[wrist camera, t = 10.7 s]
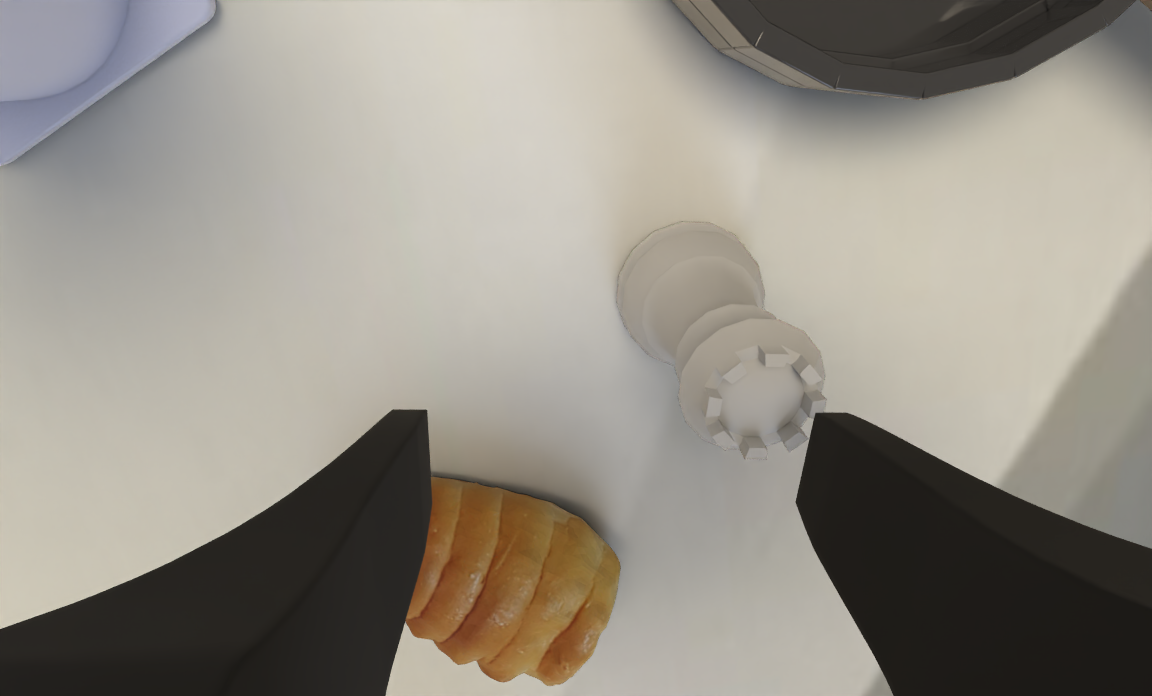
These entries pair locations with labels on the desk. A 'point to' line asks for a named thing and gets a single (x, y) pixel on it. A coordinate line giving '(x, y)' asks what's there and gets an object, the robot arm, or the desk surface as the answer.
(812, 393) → the rook chess piece
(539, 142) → the desk surface
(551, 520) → the pastry
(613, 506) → the desk surface
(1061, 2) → the pan
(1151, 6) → the pan handle
